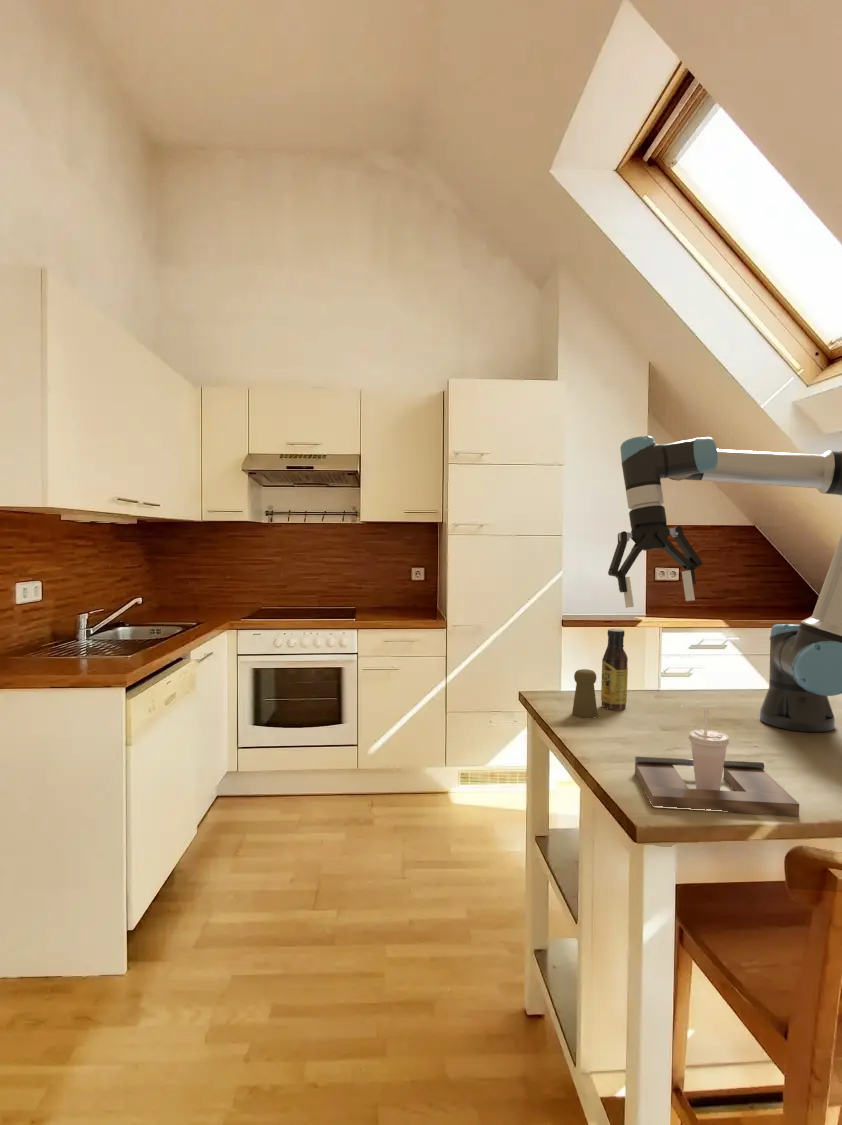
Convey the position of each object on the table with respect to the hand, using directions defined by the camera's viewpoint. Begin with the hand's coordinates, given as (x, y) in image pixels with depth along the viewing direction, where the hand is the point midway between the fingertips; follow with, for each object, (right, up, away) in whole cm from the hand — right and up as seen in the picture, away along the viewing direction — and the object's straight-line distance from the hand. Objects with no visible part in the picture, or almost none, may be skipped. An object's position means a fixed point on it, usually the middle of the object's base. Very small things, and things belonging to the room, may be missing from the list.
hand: (660, 604), depth 147 cm
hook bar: (-2, -28, -24) cm, 37 cm away
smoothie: (-3, -30, -31) cm, 43 cm away
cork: (-12, -28, +17) cm, 35 cm away
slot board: (-3, -30, -32) cm, 44 cm away
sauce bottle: (-3, -28, +24) cm, 37 cm away
